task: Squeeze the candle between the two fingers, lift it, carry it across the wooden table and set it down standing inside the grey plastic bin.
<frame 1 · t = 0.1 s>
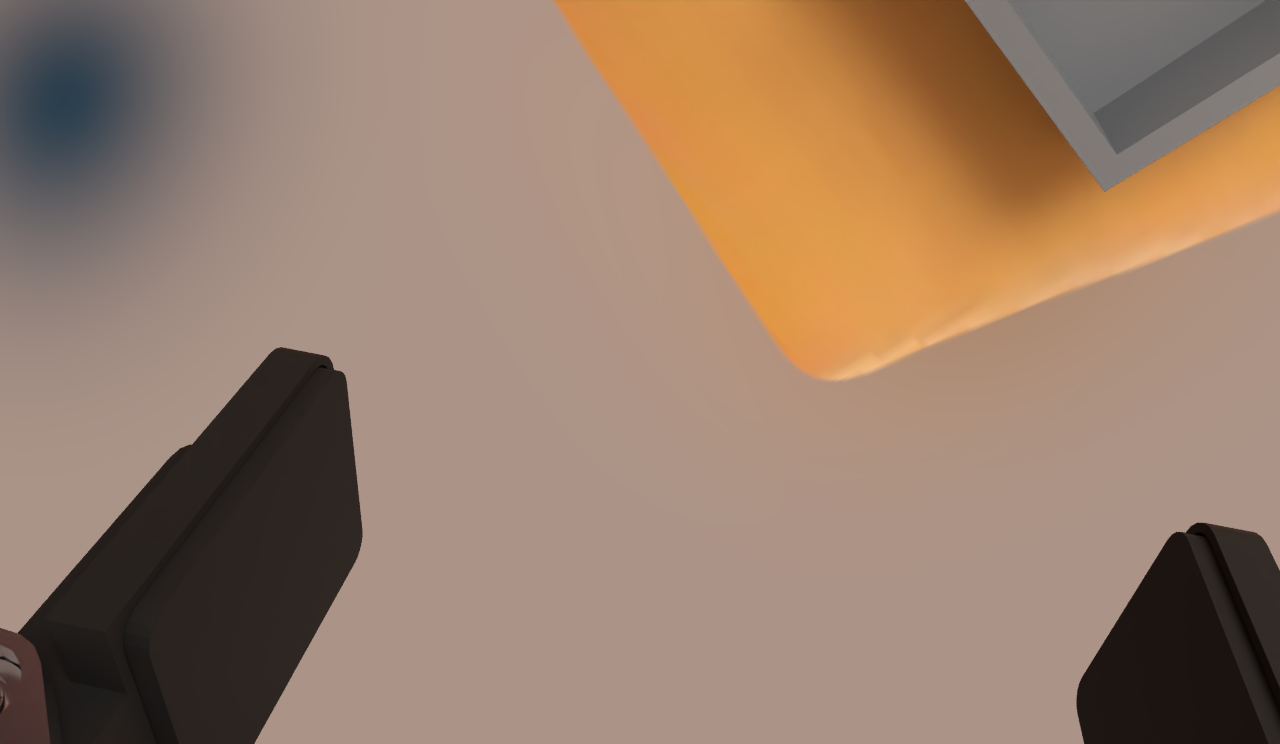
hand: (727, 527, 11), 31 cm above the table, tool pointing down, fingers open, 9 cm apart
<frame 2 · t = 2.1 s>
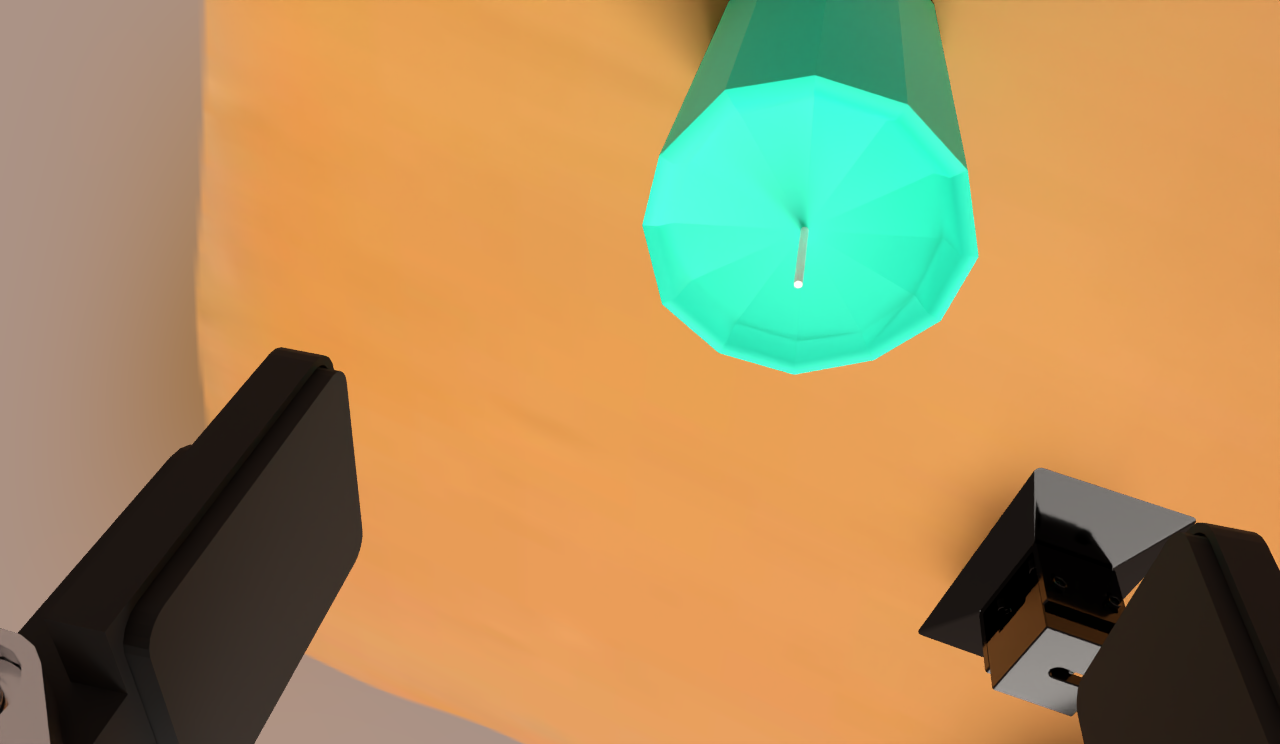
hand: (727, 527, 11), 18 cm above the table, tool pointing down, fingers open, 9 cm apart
candle: (825, 58, 26), on the table
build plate: (1039, 567, 35), on the table
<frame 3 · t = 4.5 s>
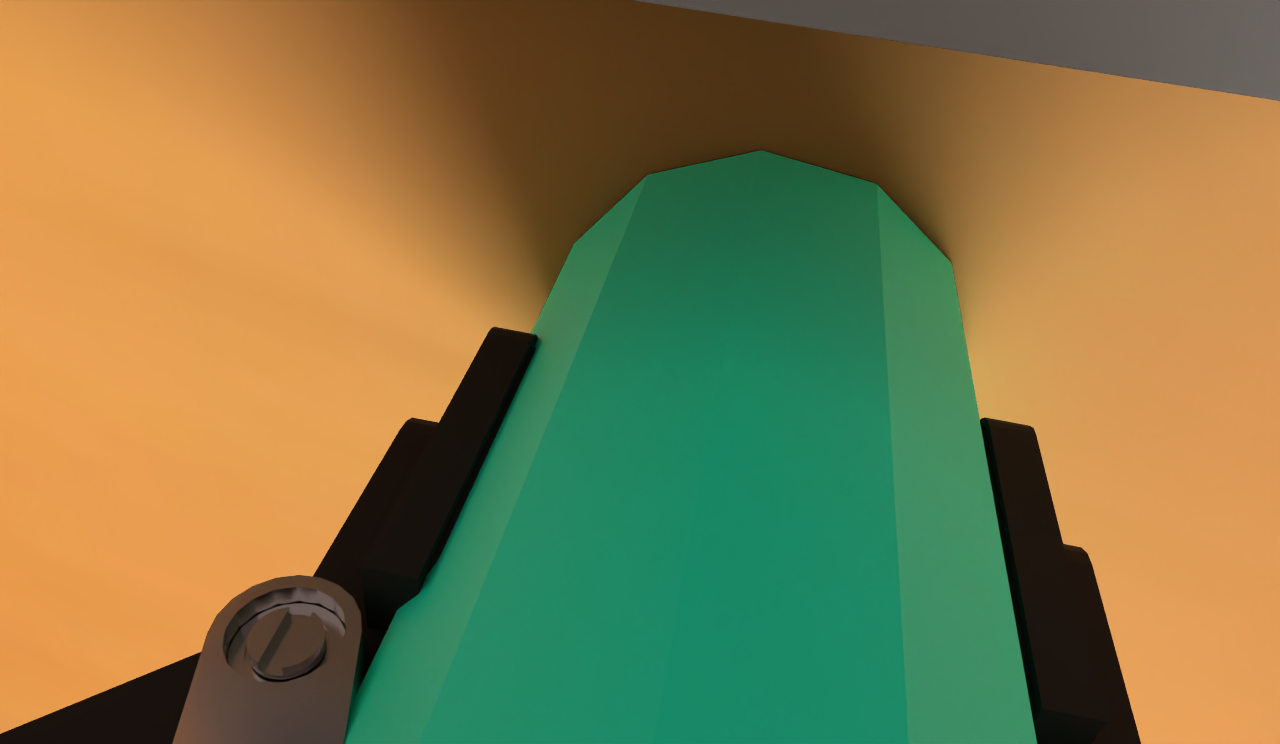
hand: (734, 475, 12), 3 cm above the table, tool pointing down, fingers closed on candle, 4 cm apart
candle: (754, 335, 14), on the table, touching gripper
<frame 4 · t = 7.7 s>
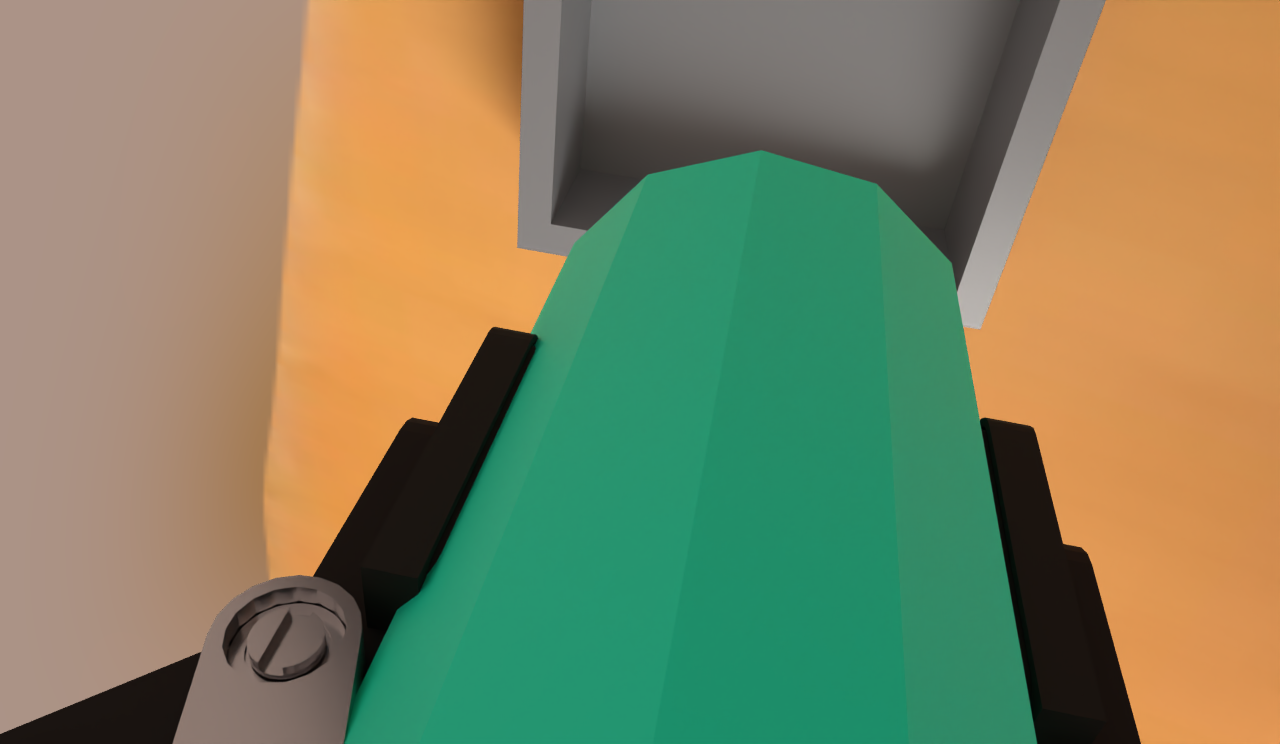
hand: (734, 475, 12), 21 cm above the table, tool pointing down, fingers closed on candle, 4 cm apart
bin: (797, 2, 28), on the table
candle: (754, 335, 14), point 18 cm above the table, touching gripper
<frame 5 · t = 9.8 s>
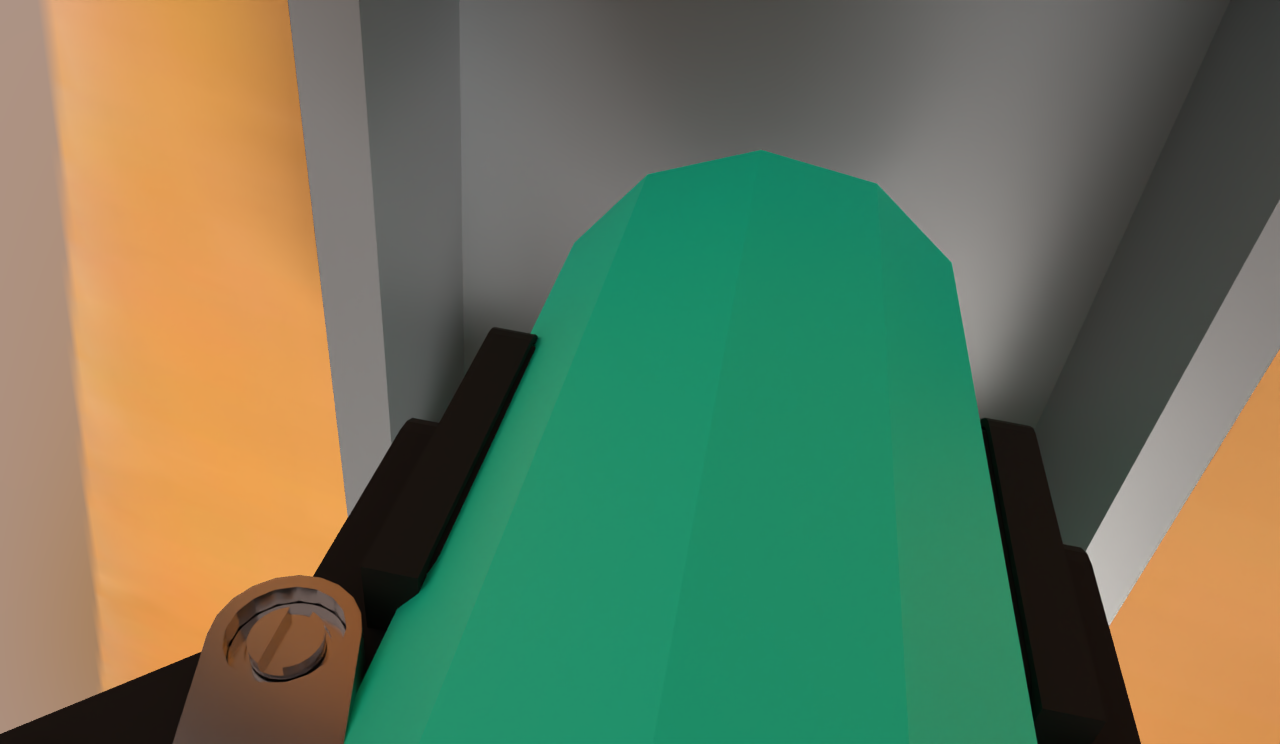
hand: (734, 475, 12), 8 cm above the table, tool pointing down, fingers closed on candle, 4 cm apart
bin: (778, 190, 18), on the table
candle: (754, 335, 14), point 5 cm above the table, touching gripper
when the fingers open (5 cm above the table, at t = 11.3 s): candle drops 1 cm, resting on bin.
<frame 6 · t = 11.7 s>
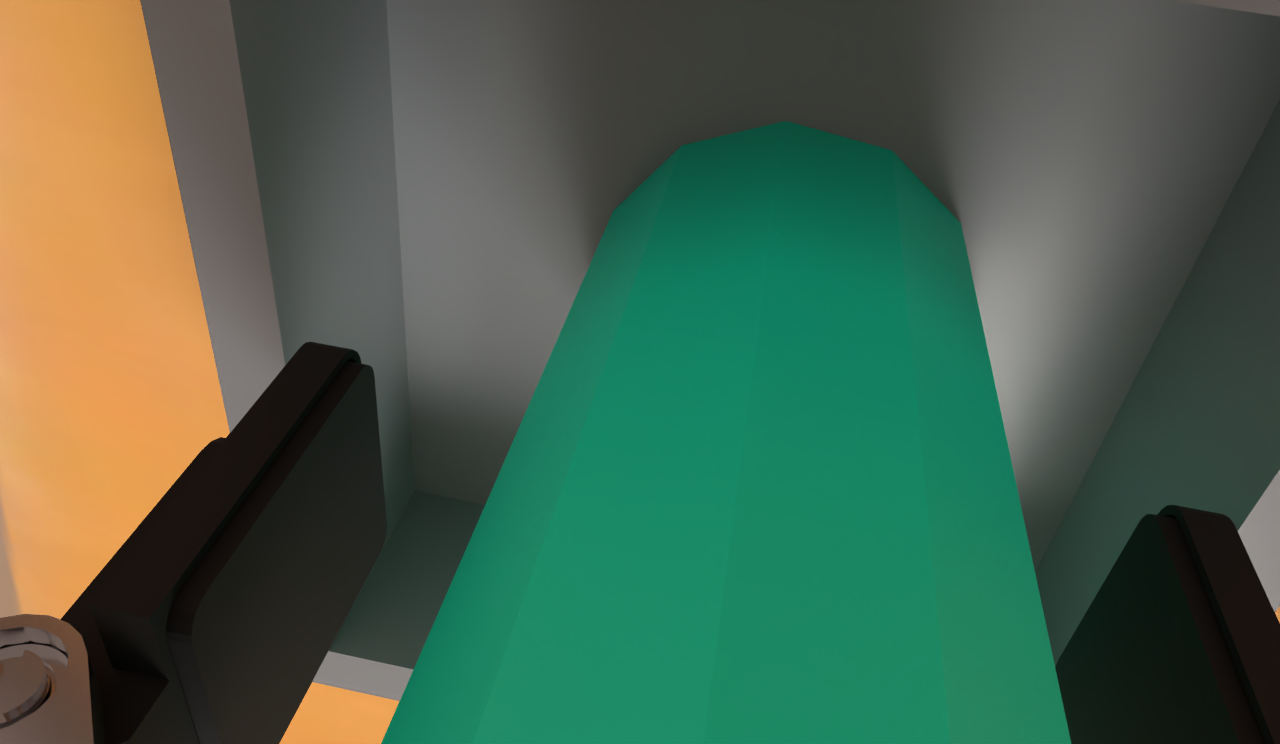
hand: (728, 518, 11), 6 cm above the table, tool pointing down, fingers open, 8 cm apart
bin: (764, 261, 16), on the table
candle: (778, 295, 15), point 1 cm above the table, touching bin
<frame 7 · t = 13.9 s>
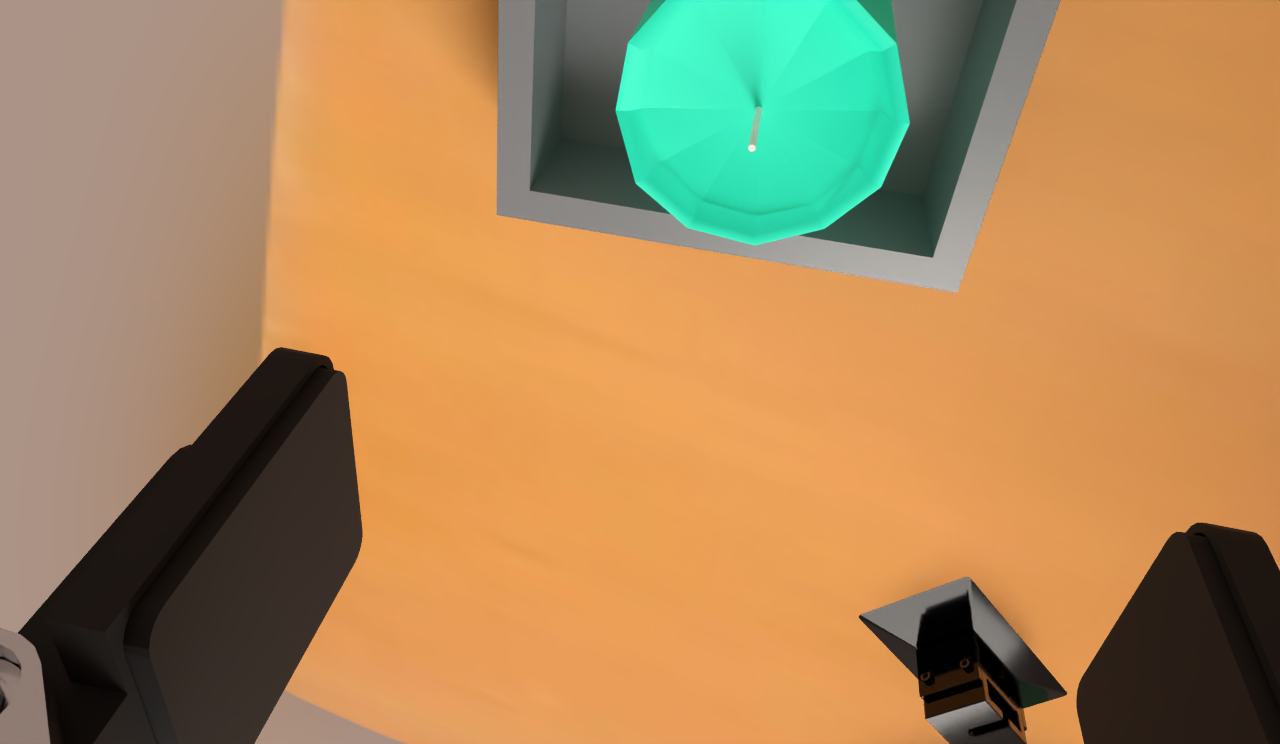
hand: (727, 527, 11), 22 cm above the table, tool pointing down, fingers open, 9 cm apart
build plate: (964, 643, 46), on the table
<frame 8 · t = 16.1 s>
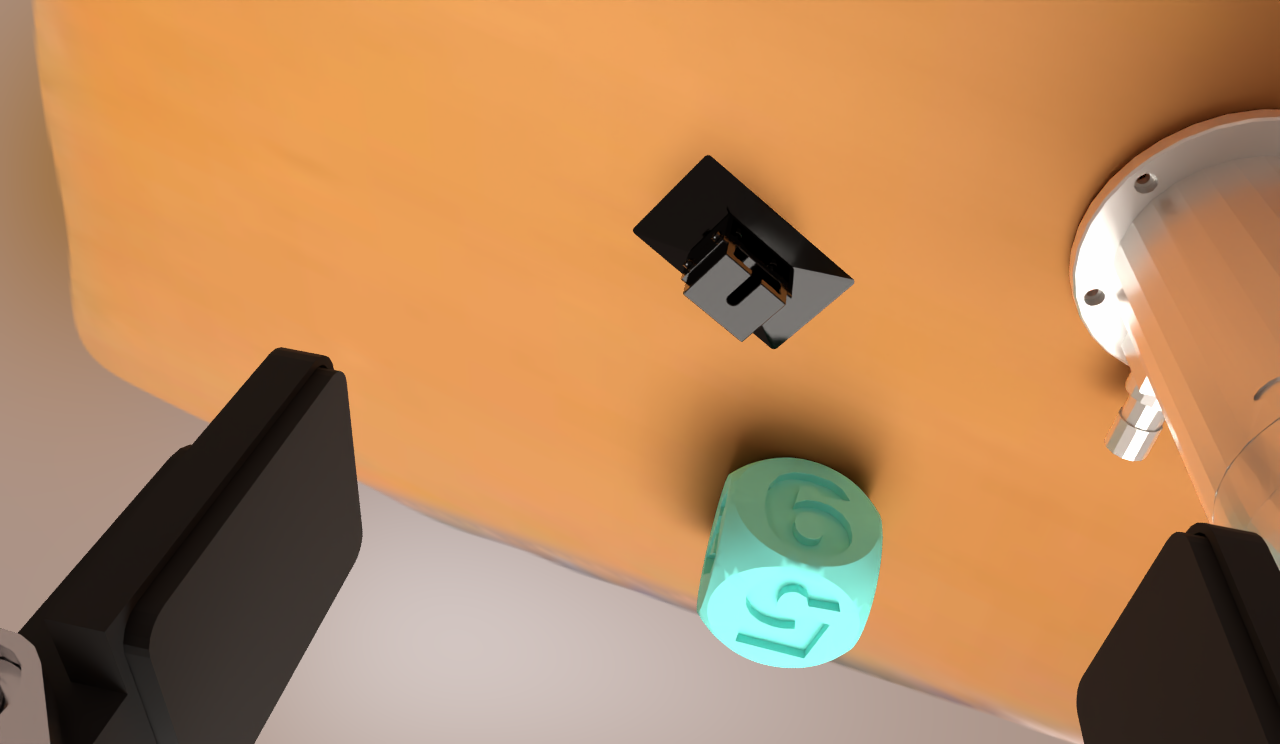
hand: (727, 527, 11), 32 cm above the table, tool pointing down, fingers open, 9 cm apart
decorative dice: (790, 506, 55), on the table
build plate: (743, 248, 46), on the table
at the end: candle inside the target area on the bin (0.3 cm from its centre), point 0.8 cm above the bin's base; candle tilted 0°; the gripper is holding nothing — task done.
